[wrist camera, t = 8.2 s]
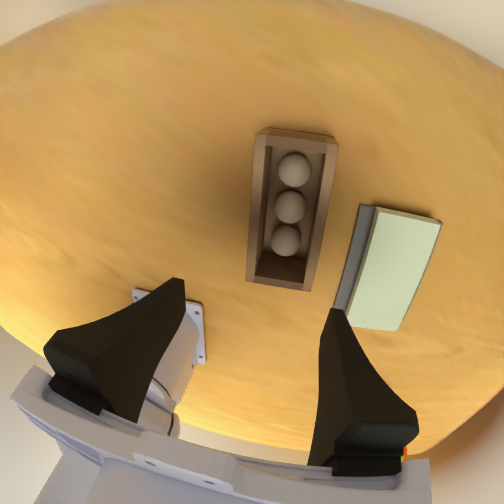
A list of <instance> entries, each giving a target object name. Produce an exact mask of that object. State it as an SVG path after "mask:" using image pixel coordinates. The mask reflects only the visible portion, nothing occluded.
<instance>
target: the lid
mask: <svg viewBox="0 0 504 504" xmlns="http://www.w3.org/2000/svg"><path fill="white" fill-rule="evenodd" d="M440 226H441V225H440V224H439V223H438V221H437V220H436V219H432V218H427V217H423V216H419V215H414V214H410V213H405V212H400V211H396V210H391V209H386V208H381V207H376V210H375V214H374V218H373V222H372V226H371V230H370V234H369V238H368V241H367V245H366V249H365V252H364V256H363V259H362V262H361V266H360V269H359V272H358V276H357V279H356V282H355V285H354V288H353V292H352V295H351V298H350V301H349V304H348V306H347V309H346V312H345V314H346V317H347V319H348V321H349V324H350V326H353V327H361V328H369V329H377V330H386V331H397V329H398V327H399V325H400V323H401V321H402V319H403V317H404V315H405V313H406V311H407V309H408V307H409V304H410V302H411V300H412V298H413V296H414V293H415V291H416V289H417V287H418V284H419V282H420V280H421V277H422V275H423V272H424V270H425V267H426V265H427V262H428V260H429V257H430V254H431V252H432V249H433V246H434V243H435V241H436V238H437V235H438V232H439V229H440Z"/></svg>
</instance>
